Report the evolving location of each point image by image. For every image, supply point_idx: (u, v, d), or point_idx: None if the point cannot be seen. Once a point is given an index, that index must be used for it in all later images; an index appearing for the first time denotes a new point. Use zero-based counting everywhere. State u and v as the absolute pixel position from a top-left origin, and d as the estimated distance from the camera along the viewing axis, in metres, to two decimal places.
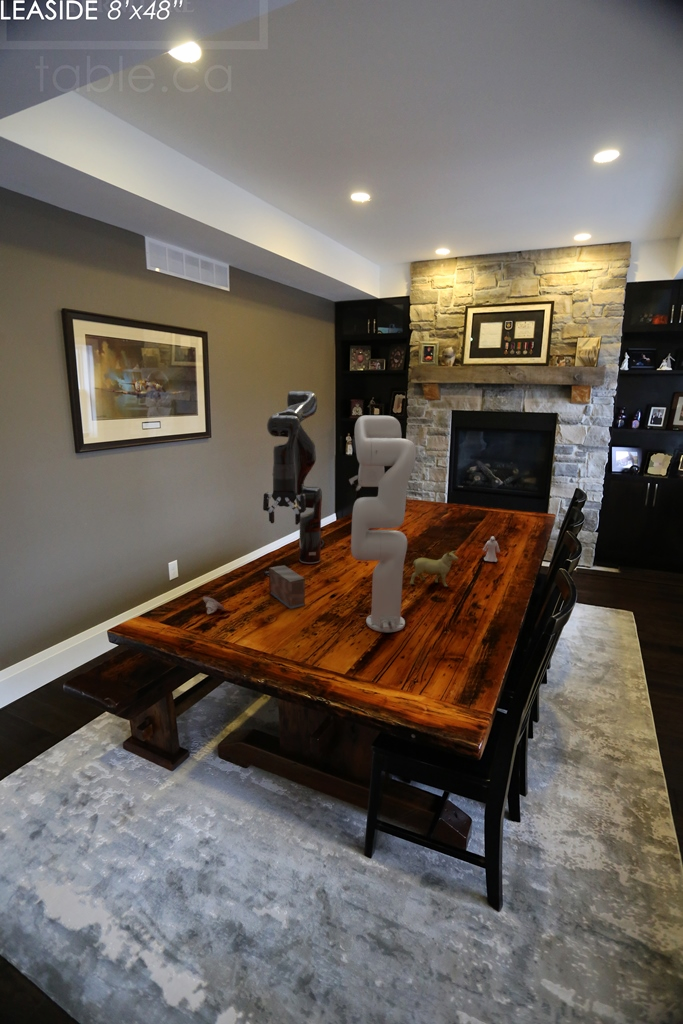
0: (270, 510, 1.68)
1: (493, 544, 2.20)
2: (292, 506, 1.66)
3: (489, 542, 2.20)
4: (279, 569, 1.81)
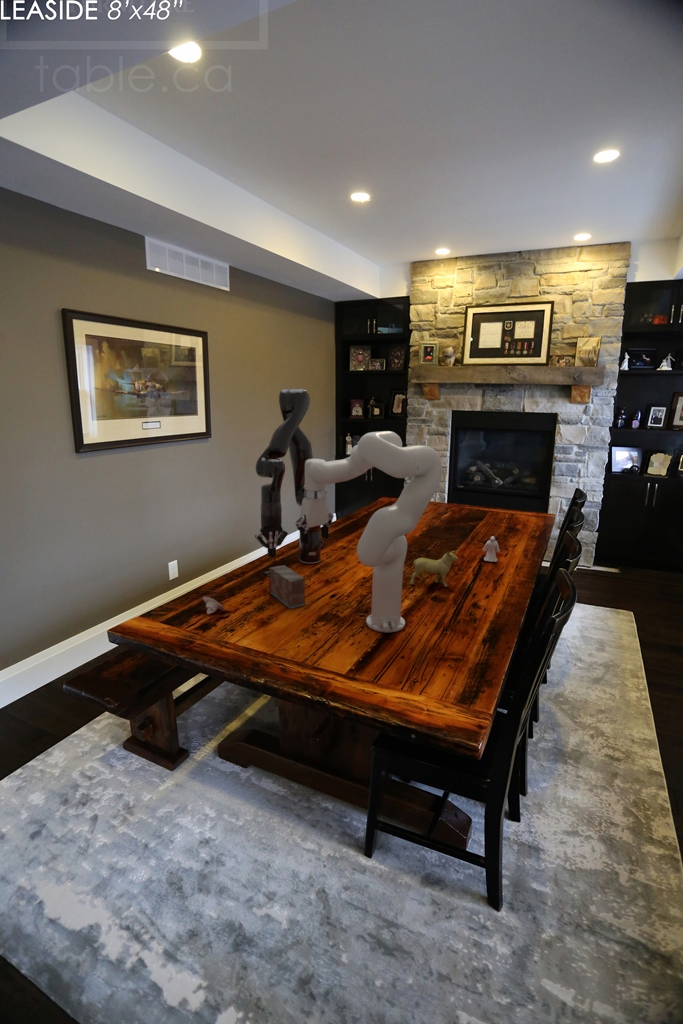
0: (271, 546, 1.85)
1: (493, 544, 2.20)
2: (276, 540, 1.85)
3: (489, 542, 2.20)
4: (279, 569, 1.81)
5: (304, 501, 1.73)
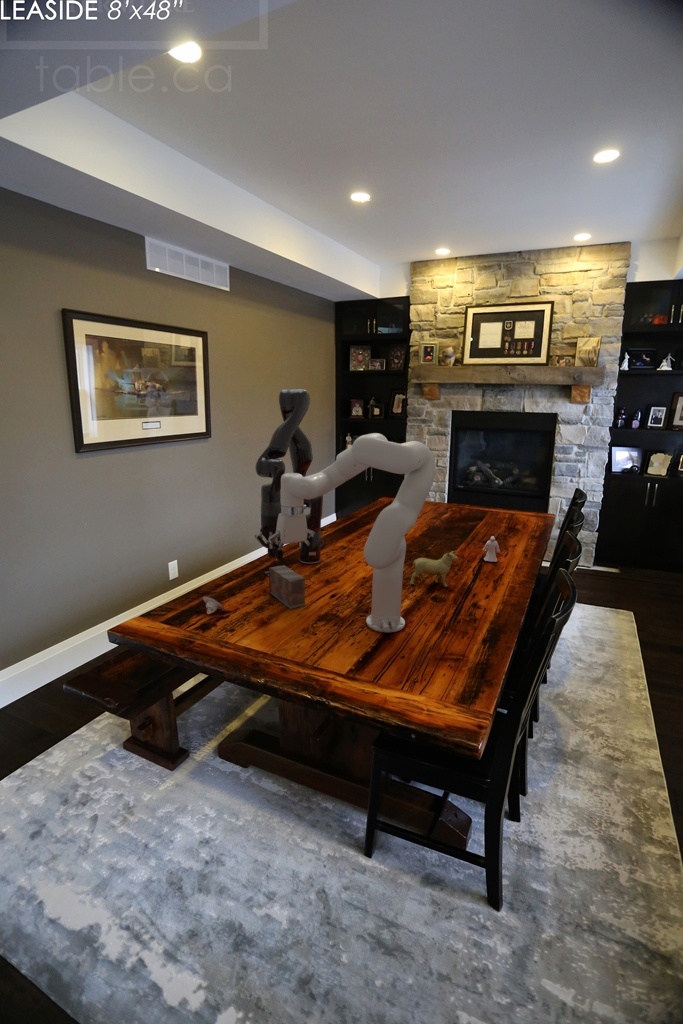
0: (271, 546, 1.85)
1: (493, 544, 2.20)
2: (276, 540, 1.85)
3: (489, 542, 2.20)
4: (279, 569, 1.81)
5: (279, 517, 1.67)
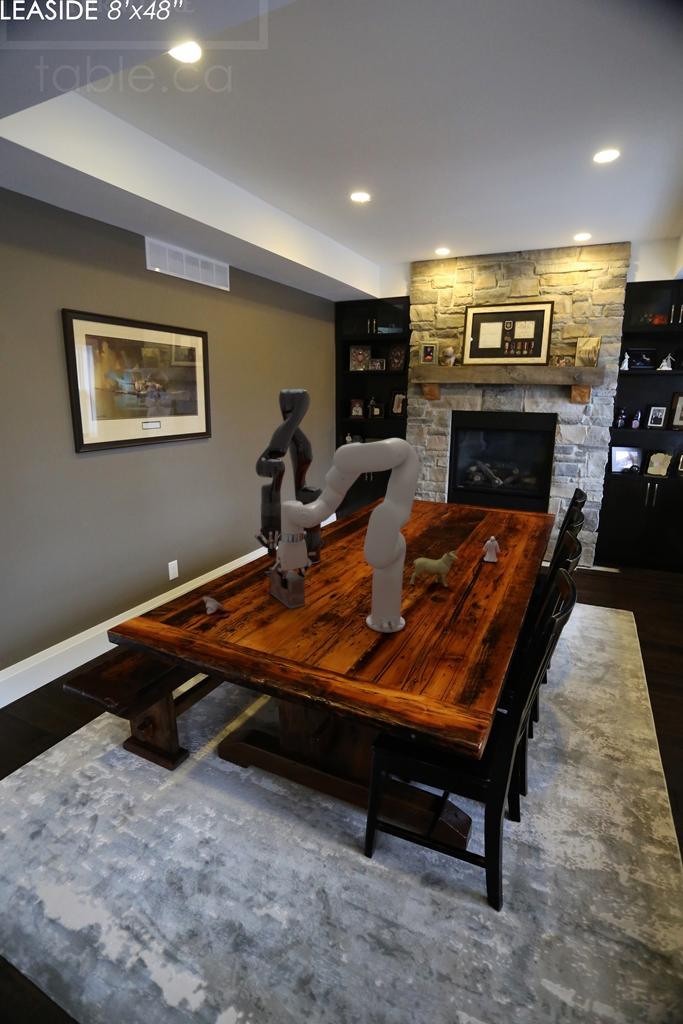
0: (271, 546, 1.85)
1: (493, 544, 2.20)
2: (276, 540, 1.85)
3: (489, 542, 2.20)
4: (279, 569, 1.81)
5: (279, 544, 1.69)
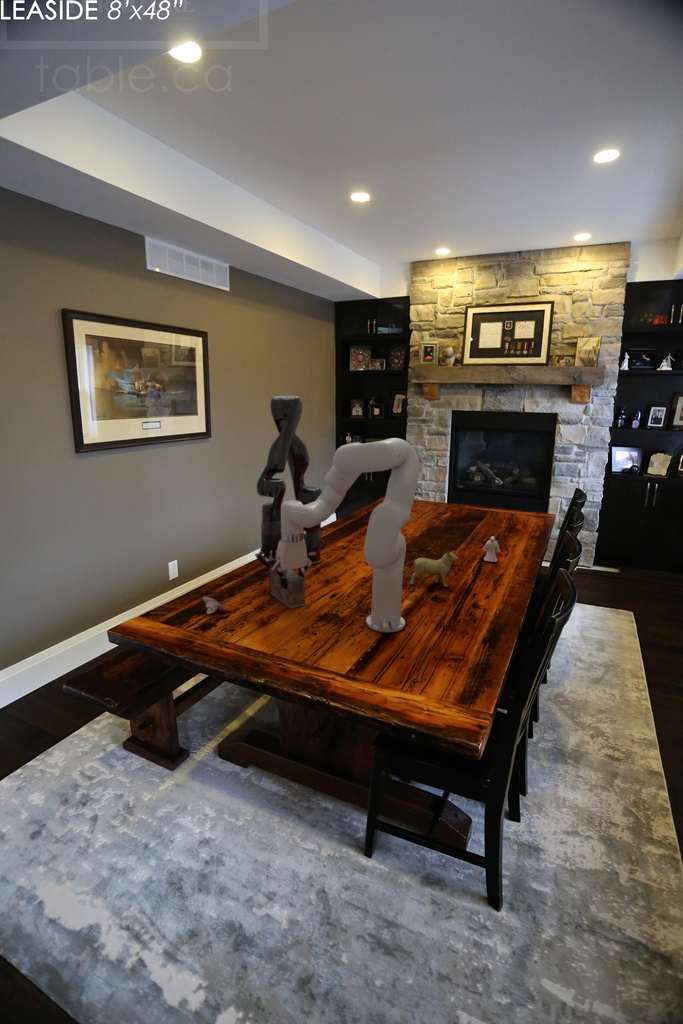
0: (271, 565, 1.86)
1: (493, 544, 2.20)
2: (276, 558, 1.86)
3: (489, 542, 2.20)
4: (279, 569, 1.81)
5: (279, 544, 1.69)
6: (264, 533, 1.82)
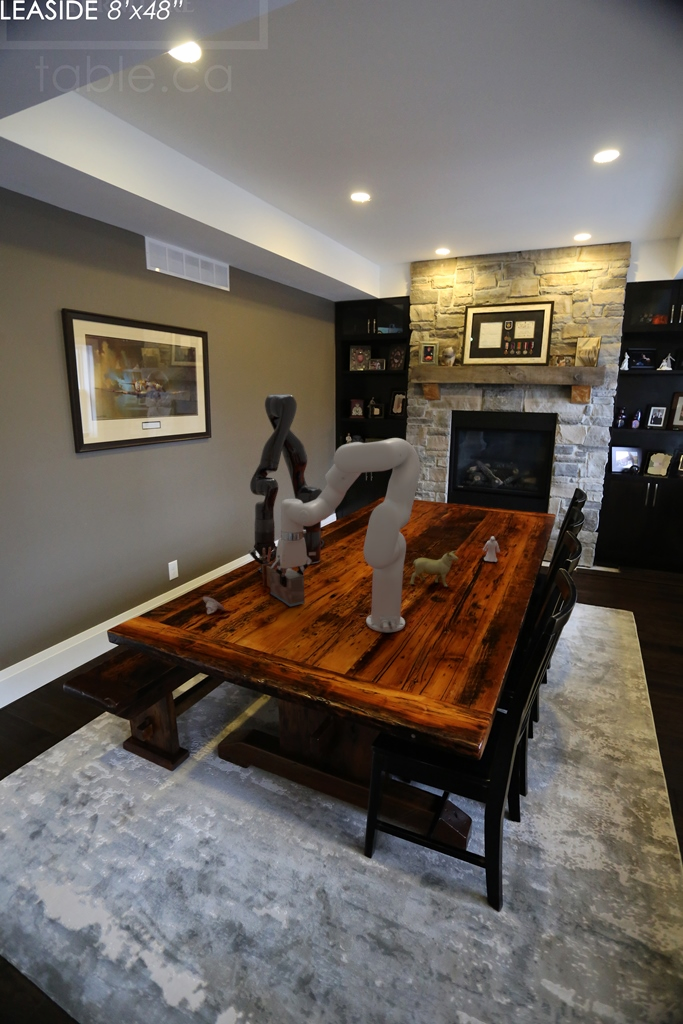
0: (264, 562, 1.91)
1: (493, 544, 2.20)
2: (269, 555, 1.91)
3: (489, 542, 2.20)
4: (278, 568, 1.81)
5: (279, 542, 1.70)
6: (257, 531, 1.87)
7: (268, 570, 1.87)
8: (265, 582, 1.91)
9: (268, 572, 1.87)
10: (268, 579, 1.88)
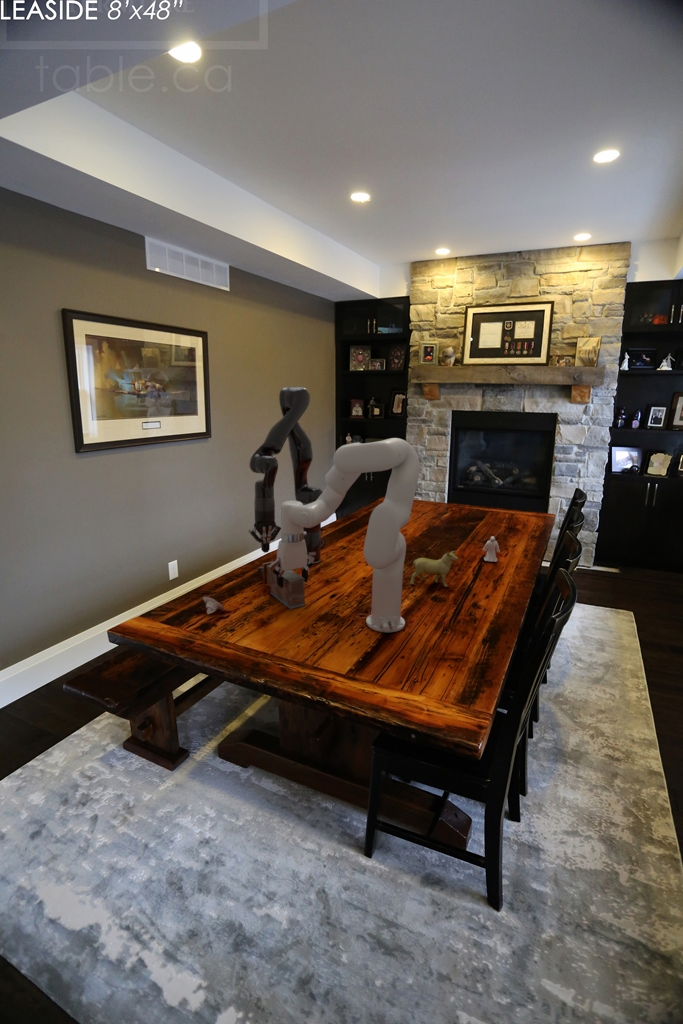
0: (265, 541, 1.89)
1: (493, 544, 2.20)
2: (269, 535, 1.89)
3: (489, 542, 2.20)
4: None
5: (279, 544, 1.69)
6: (257, 509, 1.84)
7: (268, 570, 1.87)
8: (265, 581, 1.91)
9: (268, 572, 1.87)
10: (268, 578, 1.88)
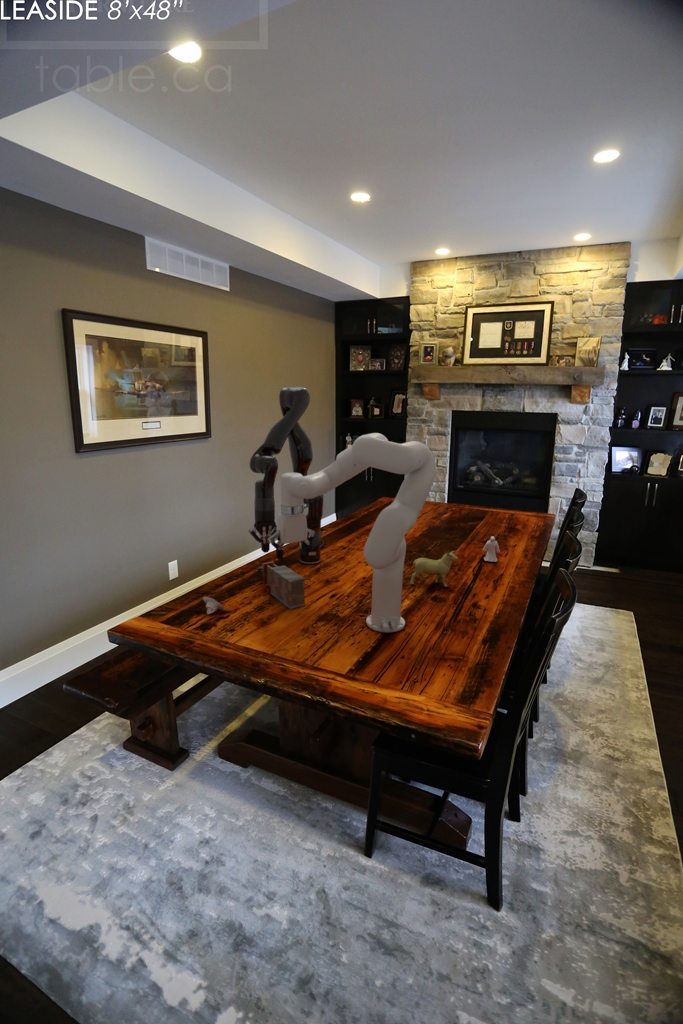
0: (265, 541, 1.89)
1: (493, 544, 2.20)
2: (269, 535, 1.89)
3: (489, 542, 2.20)
4: (279, 569, 1.81)
5: (279, 516, 1.67)
6: (257, 509, 1.84)
7: (268, 570, 1.87)
8: (265, 581, 1.91)
9: (268, 572, 1.87)
10: (268, 578, 1.88)
